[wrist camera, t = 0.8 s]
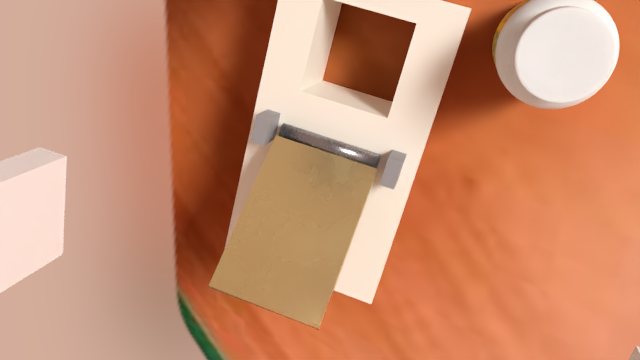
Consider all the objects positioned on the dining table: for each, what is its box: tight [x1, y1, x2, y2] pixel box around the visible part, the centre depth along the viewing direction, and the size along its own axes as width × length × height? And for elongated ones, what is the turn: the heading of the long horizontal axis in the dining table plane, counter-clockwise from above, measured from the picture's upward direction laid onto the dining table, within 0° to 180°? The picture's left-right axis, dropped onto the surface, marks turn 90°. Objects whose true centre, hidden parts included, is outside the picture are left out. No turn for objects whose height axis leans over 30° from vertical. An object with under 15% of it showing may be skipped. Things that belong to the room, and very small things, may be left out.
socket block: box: [225, 0, 471, 304], centre depth 33 cm, size 18×10×7 cm, turn 165°
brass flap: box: [209, 123, 381, 330], centre depth 29 cm, size 10×6×1 cm
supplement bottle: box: [492, 0, 619, 109], centre depth 27 cm, size 5×5×10 cm
